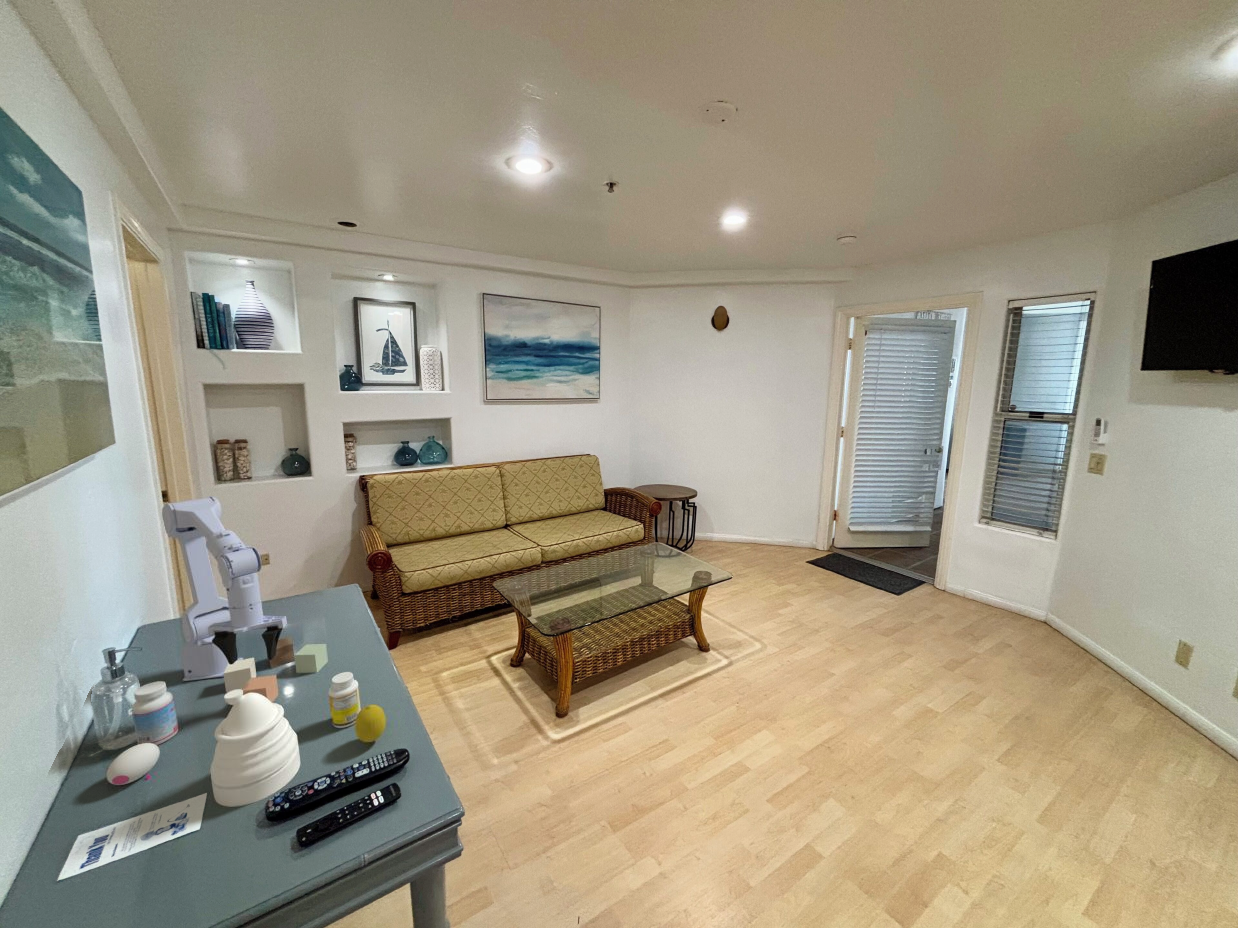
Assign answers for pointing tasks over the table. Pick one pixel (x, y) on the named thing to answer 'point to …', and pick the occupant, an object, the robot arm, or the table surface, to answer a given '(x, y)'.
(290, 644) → the walnut block
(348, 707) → the supplement bottle
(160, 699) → the pill bottle
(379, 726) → the lemon
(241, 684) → the cream block
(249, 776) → the honey pot
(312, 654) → the sage block
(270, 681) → the terracotta block
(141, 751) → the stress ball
